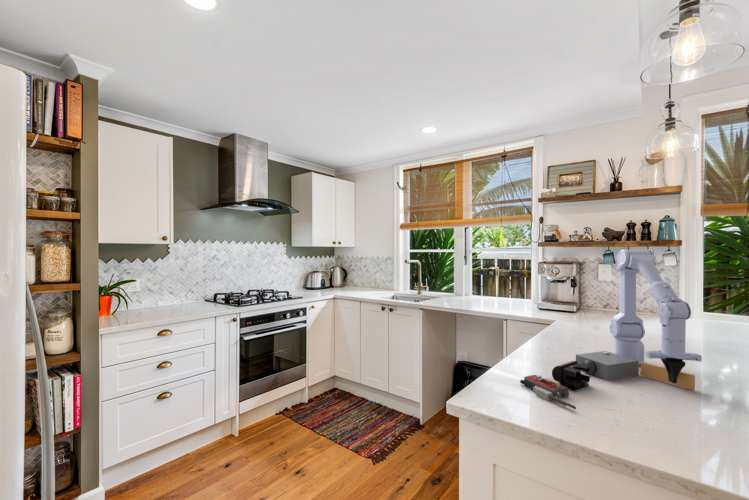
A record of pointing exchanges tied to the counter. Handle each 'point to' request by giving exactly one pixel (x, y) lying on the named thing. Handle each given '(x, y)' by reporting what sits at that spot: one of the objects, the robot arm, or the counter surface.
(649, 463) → the counter surface
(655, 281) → the robot arm
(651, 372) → the long wooden stick
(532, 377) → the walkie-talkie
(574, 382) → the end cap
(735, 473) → the counter surface
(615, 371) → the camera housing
